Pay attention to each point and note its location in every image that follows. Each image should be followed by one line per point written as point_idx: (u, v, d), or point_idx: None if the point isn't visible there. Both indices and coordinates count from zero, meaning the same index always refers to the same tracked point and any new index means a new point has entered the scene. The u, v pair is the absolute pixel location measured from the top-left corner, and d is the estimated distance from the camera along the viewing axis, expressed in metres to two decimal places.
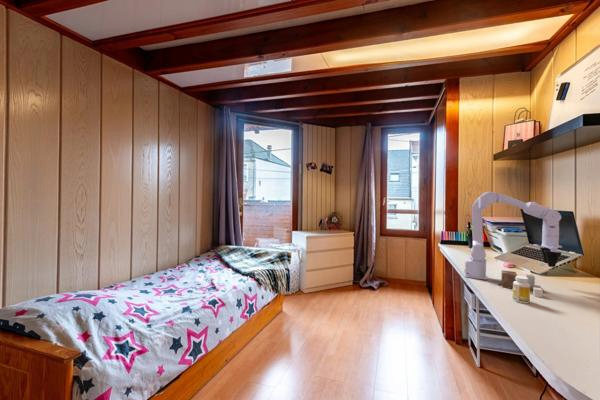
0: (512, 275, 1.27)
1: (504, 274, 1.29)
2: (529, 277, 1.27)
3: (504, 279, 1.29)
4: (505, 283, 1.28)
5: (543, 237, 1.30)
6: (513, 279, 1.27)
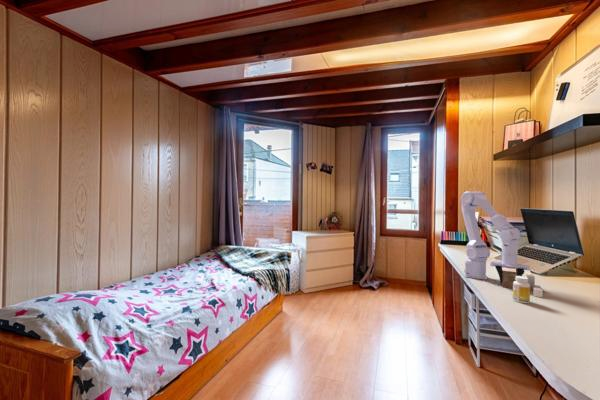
0: (512, 275, 1.27)
1: (504, 274, 1.29)
2: (529, 277, 1.27)
3: (504, 279, 1.29)
4: (505, 283, 1.28)
5: None
6: (513, 279, 1.27)
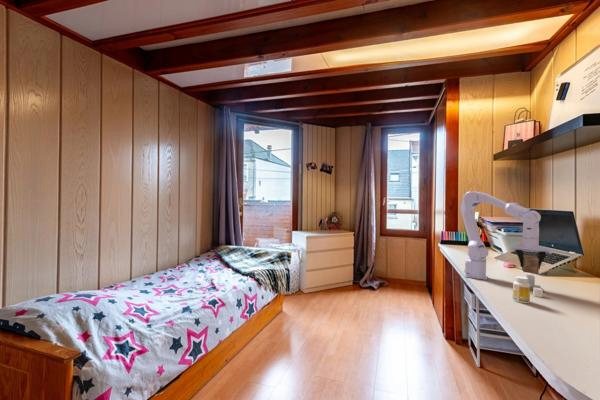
0: (533, 259, 1.24)
1: (525, 259, 1.26)
2: (529, 277, 1.27)
3: (525, 264, 1.26)
4: (526, 268, 1.26)
5: None
6: (535, 263, 1.24)
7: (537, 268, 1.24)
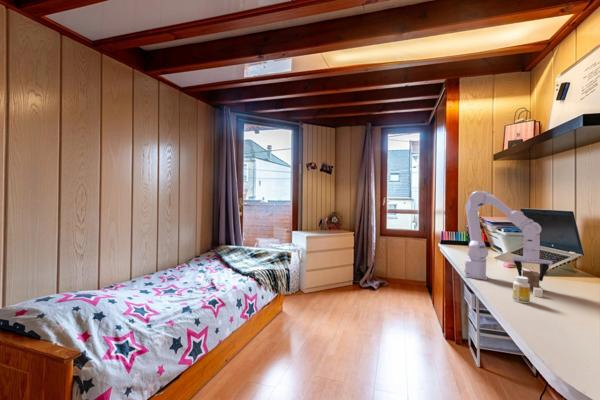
0: (534, 275, 1.25)
1: (526, 274, 1.26)
2: None
3: None
4: None
5: None
6: (535, 279, 1.24)
7: (538, 284, 1.24)
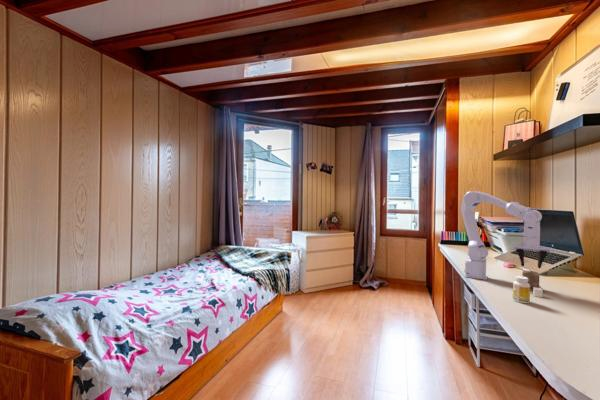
0: (534, 275, 1.25)
1: (526, 274, 1.26)
2: None
3: None
4: None
5: None
6: (535, 279, 1.24)
7: (538, 284, 1.24)
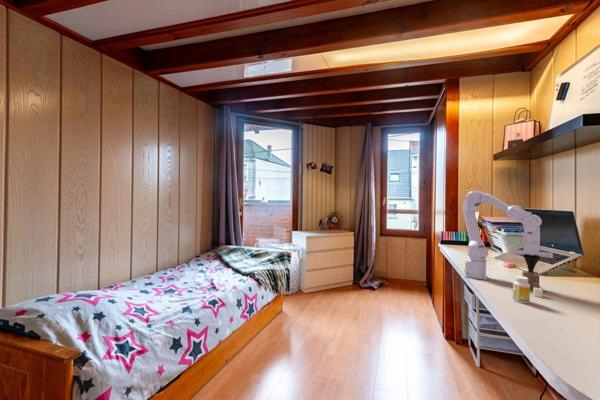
0: (534, 275, 1.25)
1: (526, 274, 1.26)
2: None
3: None
4: None
5: None
6: (535, 279, 1.24)
7: (538, 284, 1.24)
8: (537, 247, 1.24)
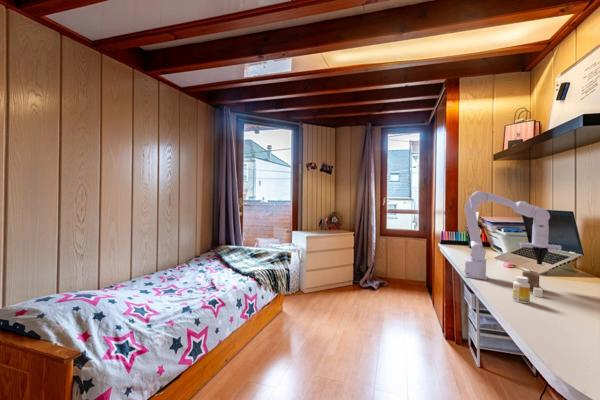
0: (534, 275, 1.25)
1: (526, 274, 1.26)
2: None
3: None
4: None
5: None
6: (535, 279, 1.24)
7: (538, 284, 1.24)
8: (546, 240, 1.27)
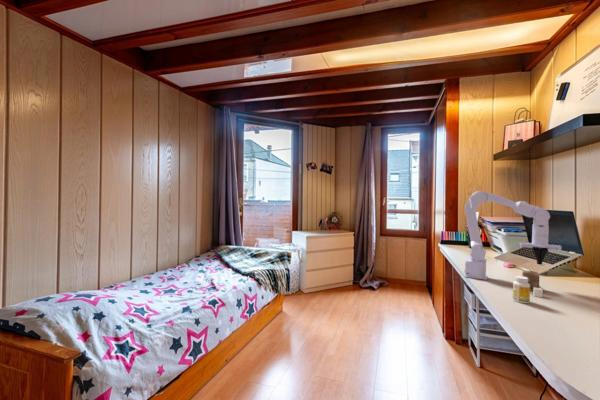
0: (534, 275, 1.25)
1: (526, 274, 1.26)
2: None
3: None
4: None
5: None
6: (535, 279, 1.24)
7: (538, 284, 1.24)
8: (546, 240, 1.27)
